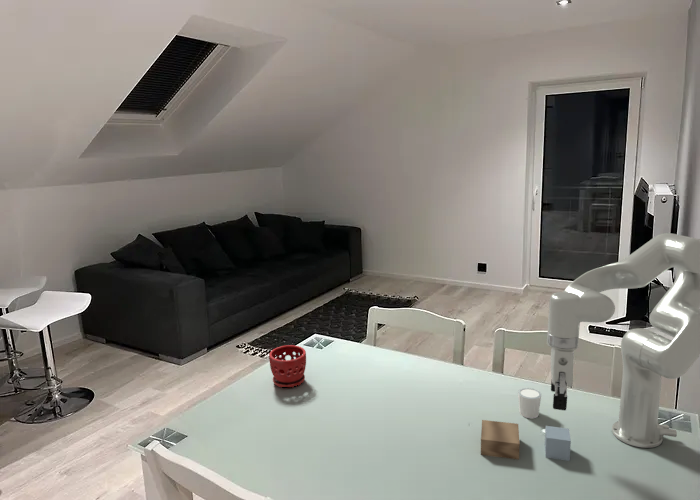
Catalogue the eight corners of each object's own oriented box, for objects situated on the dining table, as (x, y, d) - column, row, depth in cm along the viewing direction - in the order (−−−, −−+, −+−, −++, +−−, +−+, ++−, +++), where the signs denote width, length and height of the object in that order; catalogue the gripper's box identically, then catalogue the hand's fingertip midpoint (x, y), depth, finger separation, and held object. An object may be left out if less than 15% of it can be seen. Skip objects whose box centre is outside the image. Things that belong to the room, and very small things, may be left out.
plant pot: (263, 385, 186) (261, 354, 183) (288, 371, 196) (286, 342, 194) (291, 395, 179) (289, 362, 176) (314, 379, 189) (313, 349, 186)
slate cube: (567, 448, 143) (568, 428, 142) (569, 461, 138) (570, 440, 137) (544, 444, 145) (545, 425, 144) (545, 457, 140) (546, 437, 138)
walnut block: (517, 439, 149) (518, 423, 148) (518, 460, 139) (519, 443, 138) (481, 435, 151) (482, 419, 150) (480, 455, 142) (480, 439, 141)
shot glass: (542, 420, 157) (543, 399, 156) (518, 418, 159) (519, 397, 157) (538, 408, 164) (539, 388, 162) (516, 407, 165) (516, 387, 164)
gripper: (581, 354, 125) (576, 418, 129) (575, 329, 141) (570, 387, 145) (548, 351, 127) (544, 414, 131) (545, 326, 143) (542, 383, 147)
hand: (558, 400), depth 138 cm, fingers open, 9 cm apart
